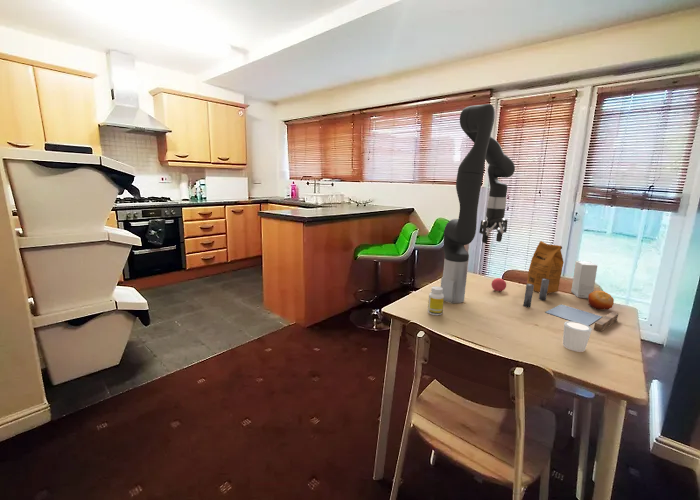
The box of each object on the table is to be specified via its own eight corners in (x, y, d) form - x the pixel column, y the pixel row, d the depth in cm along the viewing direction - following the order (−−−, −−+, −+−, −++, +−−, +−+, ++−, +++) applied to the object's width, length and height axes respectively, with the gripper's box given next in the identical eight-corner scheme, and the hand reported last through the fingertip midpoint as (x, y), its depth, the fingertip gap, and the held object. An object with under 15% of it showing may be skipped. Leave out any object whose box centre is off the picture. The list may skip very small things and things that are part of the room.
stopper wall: (600, 331, 107) (602, 324, 107) (593, 329, 109) (594, 322, 108) (616, 320, 117) (618, 314, 116) (609, 318, 118) (611, 312, 118)
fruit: (600, 299, 132) (610, 287, 127) (609, 316, 127) (620, 303, 121) (579, 298, 133) (588, 286, 128) (587, 314, 128) (598, 302, 122)
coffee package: (539, 284, 154) (546, 240, 149) (561, 293, 143) (570, 245, 138) (522, 286, 152) (528, 240, 147) (543, 295, 140) (551, 246, 135)
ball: (500, 294, 140) (502, 281, 139) (488, 290, 145) (489, 277, 144) (508, 291, 144) (509, 279, 142) (495, 288, 148) (497, 275, 147)
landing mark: (587, 326, 111) (587, 326, 111) (544, 312, 122) (545, 311, 122) (602, 317, 119) (602, 316, 119) (561, 304, 130) (561, 304, 130)
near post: (528, 307, 126) (532, 286, 124) (521, 305, 128) (525, 284, 126) (531, 306, 128) (535, 285, 126) (525, 304, 130) (528, 283, 128)
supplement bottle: (445, 315, 118) (447, 290, 116) (431, 316, 117) (433, 290, 115) (438, 309, 123) (440, 285, 121) (425, 310, 122) (427, 285, 120)
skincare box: (592, 299, 137) (599, 265, 134) (576, 297, 139) (582, 264, 135) (585, 292, 145) (591, 261, 141) (569, 291, 146) (575, 259, 143)
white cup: (555, 341, 100) (558, 320, 99) (575, 341, 101) (579, 320, 99) (571, 353, 94) (575, 331, 92) (593, 352, 94) (598, 330, 93)
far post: (544, 301, 134) (547, 280, 132) (537, 299, 136) (540, 278, 134) (547, 299, 135) (550, 279, 133) (540, 297, 137) (543, 277, 135)
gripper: (490, 208, 137) (486, 245, 141) (514, 207, 143) (509, 242, 147) (477, 206, 144) (473, 241, 148) (500, 205, 149) (496, 239, 154)
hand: (491, 242), depth 147 cm, fingers open, 8 cm apart
